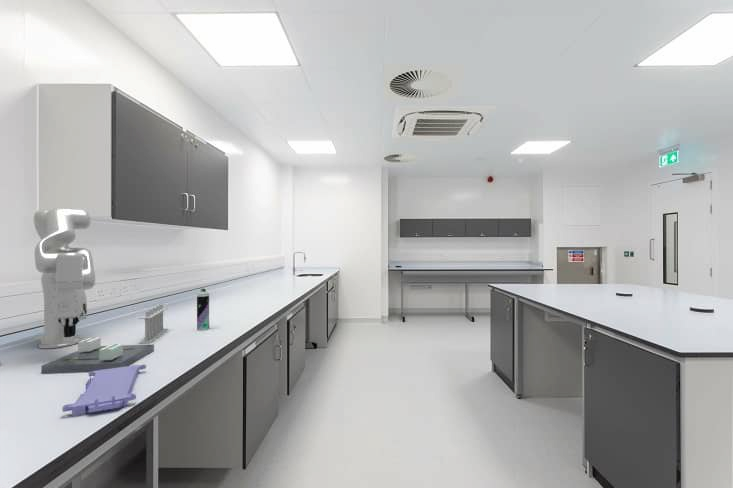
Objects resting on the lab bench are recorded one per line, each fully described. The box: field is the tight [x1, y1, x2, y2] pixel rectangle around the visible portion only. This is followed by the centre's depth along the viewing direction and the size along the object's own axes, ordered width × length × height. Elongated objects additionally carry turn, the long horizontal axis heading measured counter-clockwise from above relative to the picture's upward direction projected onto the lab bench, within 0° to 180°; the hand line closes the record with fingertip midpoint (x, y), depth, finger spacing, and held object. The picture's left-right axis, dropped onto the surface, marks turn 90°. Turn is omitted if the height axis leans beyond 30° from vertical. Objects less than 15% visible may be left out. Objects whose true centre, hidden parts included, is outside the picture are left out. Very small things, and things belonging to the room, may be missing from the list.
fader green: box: [99, 343, 124, 360], centre depth 121 cm, size 4×6×4 cm, turn 5°
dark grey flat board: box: [40, 343, 155, 375], centre depth 126 cm, size 24×22×3 cm
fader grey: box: [77, 336, 102, 352], centre depth 130 cm, size 4×6×4 cm, turn 5°
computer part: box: [62, 363, 147, 417], centre depth 99 cm, size 30×4×15 cm
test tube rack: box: [138, 303, 169, 345], centre depth 160 cm, size 25×4×13 cm, turn 15°
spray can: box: [196, 288, 210, 331], centre depth 174 cm, size 6×6×20 cm
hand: (69, 336), depth 129 cm, fingers closed
